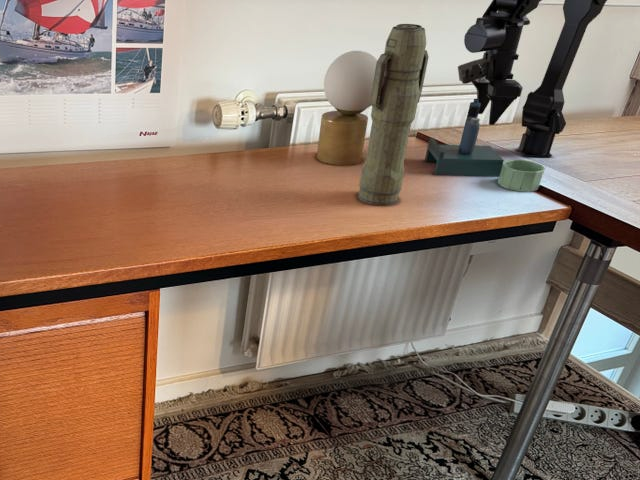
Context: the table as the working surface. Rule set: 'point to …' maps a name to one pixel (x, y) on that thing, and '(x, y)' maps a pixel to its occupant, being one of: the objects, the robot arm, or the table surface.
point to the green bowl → (521, 175)
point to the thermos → (393, 113)
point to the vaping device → (470, 129)
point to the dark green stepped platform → (463, 160)
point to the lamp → (346, 108)
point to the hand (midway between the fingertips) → (485, 119)
